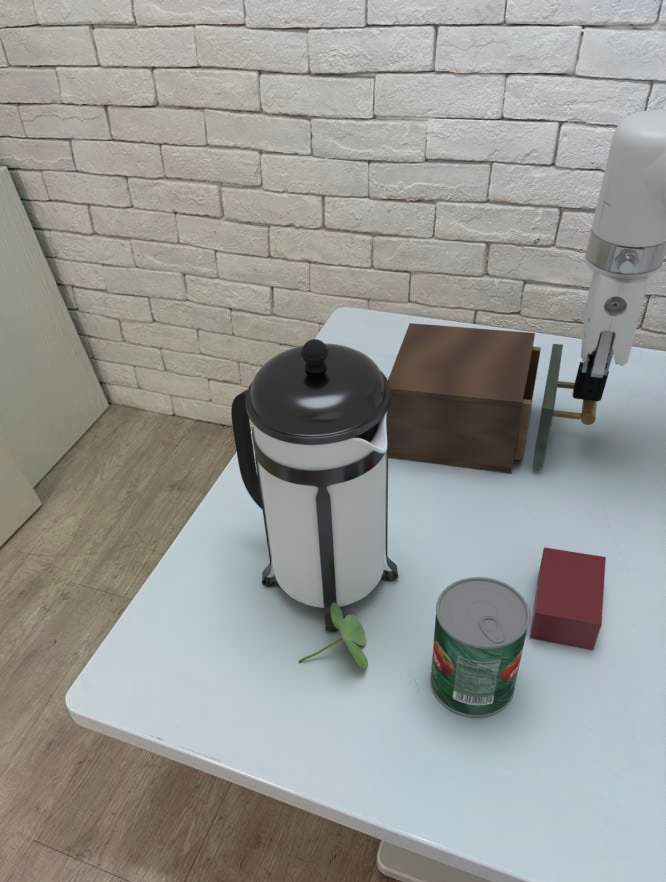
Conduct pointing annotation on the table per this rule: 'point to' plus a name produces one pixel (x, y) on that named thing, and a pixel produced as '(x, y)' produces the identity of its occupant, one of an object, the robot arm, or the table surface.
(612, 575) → the table surface
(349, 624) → the seedling
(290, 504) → the coffee press
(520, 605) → the canned tomato
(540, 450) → the drawer
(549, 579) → the maroon rectangular block
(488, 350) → the cabinet
